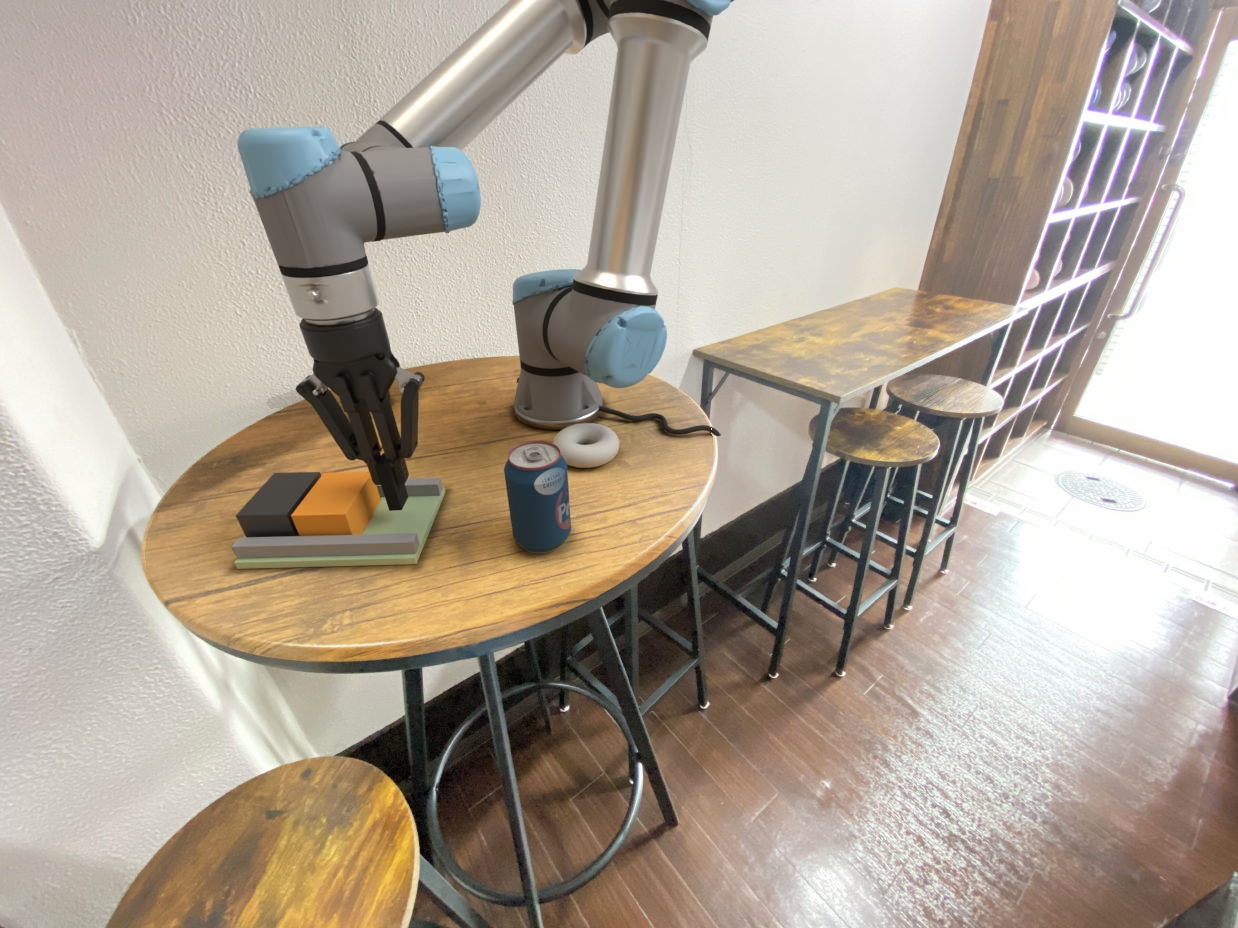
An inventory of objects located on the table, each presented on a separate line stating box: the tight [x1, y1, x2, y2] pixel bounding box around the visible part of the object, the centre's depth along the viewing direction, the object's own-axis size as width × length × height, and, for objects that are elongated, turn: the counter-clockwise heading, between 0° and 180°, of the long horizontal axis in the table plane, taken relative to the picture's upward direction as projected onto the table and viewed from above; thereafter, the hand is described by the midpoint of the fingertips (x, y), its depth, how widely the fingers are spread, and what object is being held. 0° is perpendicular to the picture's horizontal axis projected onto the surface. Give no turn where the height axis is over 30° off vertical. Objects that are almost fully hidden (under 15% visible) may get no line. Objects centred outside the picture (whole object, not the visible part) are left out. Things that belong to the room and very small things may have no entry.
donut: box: [552, 422, 621, 469], centre depth 80 cm, size 10×4×10 cm
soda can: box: [503, 440, 572, 555], centre depth 61 cm, size 7×7×12 cm
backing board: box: [230, 471, 446, 570], centre depth 65 cm, size 20×14×6 cm
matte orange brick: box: [291, 471, 381, 536], centre depth 64 cm, size 6×9×4 cm
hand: (399, 503), depth 65 cm, fingers closed
